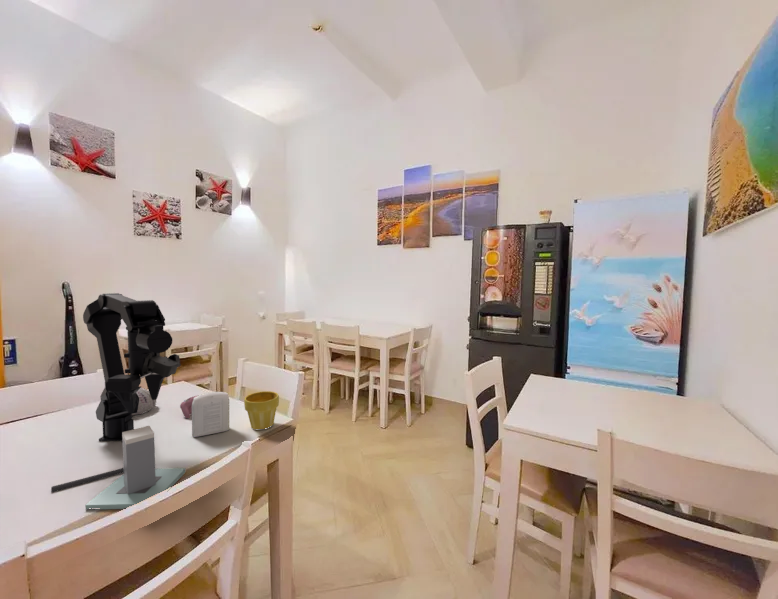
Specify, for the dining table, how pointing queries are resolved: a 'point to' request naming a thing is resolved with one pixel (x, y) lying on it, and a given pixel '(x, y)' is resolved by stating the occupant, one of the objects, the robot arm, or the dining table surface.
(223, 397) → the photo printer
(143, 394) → the sea urchin shell
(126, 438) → the light grey rectangular block
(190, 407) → the video game controller
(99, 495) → the teal flat square slab
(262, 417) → the plant pot
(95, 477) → the dark grey bar
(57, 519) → the dining table surface
